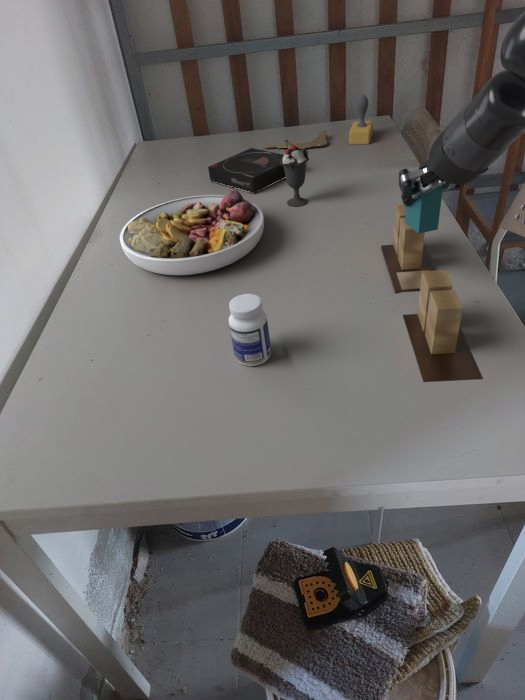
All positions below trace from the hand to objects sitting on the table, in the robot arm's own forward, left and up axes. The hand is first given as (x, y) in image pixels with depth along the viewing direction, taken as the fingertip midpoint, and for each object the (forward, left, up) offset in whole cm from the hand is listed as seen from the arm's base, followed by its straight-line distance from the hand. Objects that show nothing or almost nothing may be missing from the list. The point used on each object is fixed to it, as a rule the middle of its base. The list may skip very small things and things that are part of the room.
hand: (417, 198), depth 83 cm
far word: (-1, -3, -15) cm, 15 cm away
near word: (-1, +20, -15) cm, 25 cm away
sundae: (+19, -37, -15) cm, 44 cm away
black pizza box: (+30, -56, -15) cm, 65 cm away
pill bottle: (+27, +19, -15) cm, 37 cm away
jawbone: (+18, -80, -15) cm, 83 cm away
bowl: (+41, -19, -15) cm, 48 cm away
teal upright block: (-1, +2, -4) cm, 4 cm away
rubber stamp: (-1, -79, -15) cm, 80 cm away
